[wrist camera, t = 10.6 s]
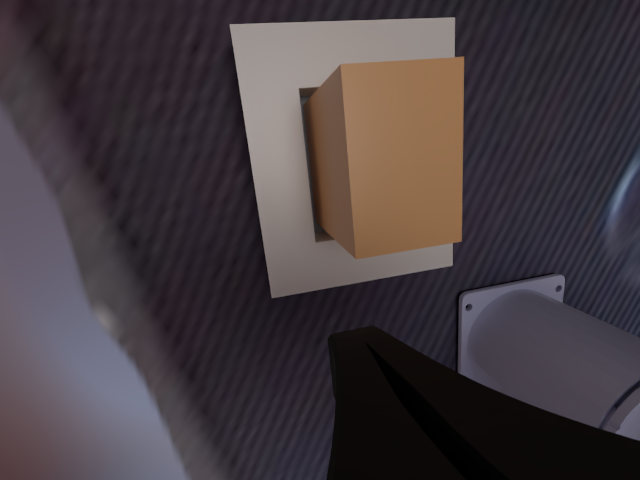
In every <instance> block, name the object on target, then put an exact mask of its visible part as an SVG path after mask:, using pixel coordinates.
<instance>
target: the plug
mask: <svg viewBox="0 0 640 480" xmlns="http://www.w3.org/2000/svg"><path fill="white" fill-rule="evenodd" d="M463 101H464V57H452V58H435V59H418V60H401V61H385V62H368V63H351V64H340V65H339V66H338V67H337V68H336V70H335V71H334V72H333V73H332V74H331V75H330V76H329V77H328V78H327V79H326V80H325V82H324V83H323V84H322V85H321V86H320V87H319V88H318V89H317V90H316V91H315V92H314V94H313V95H312V96H311V97H310V98H309V99H308V100H307V101H306V102H305V103H304V104H303V108H304V117H305V127H306V136H307V145H308V154H309V163H310V172H311V181H312V190H313V199H314V208H315V217H316V222H317V223H318V224H319V225H320V226H321V227H322V228H323V229H324V230H325V231H326V232H327V233H328V234H329V235H330V236H331V237H333V238H334V239H335V240H336V241H337V242H338V243H339V244H340V245H341V246H342V247H343V248H344V249H345V250H346V251H347V252H348V253H350V254H351V255H352V256H353V257H354V258H355V259H362V258H368V257H374V256H380V255H386V254H391V253H397V252H403V251H409V250H415V249H421V248H426V247H432V246H438V245H444V244H450V243H456V242H461V241H462V176H463Z"/></svg>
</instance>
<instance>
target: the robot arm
mask: <svg viewBox="0 0 640 480" xmlns="http://www.w3.org/2000/svg"><path fill="white" fill-rule="evenodd" d="M564 285H565V278H564V276H562V275H560V274H551V275H546V276H541V277H536V278H531V279H526V280H521V281H516V282H511V283H506V284H501V285H496V286H491V287H486V288H481V289H476V290H471V291H466V292H463V293H462V294H461V295H460V297H459V325H458V372H456V371H454V370H452V369H450V368H448V367H446V366H444V365H442V364H440V363H438V362H436V361H434V360H433V359H431V358H429V357H427V356H425V355H424V354H422V353H420V352H418V351H416V350H415V349H413V348H411V347H410V346H408V345H406V344H404V343H403V342H401V341H399V340H398V339H396V338H394V337H393V336H391V335H389V334H388V333H386V332H384V331H382V330H381V329H379V328H377V327H375V326H369V327H364V328H359V329H354V330H349V331H344V332H340V333H335V334H331V335H330V337H329V338H328V345H329V355H330V364H331V374H332V383H333V392H334V397H335V401H336V407H335V422H334V432H333V440H332V448H331V456H330V462H329V468H328V474H327V480H640V338H639V337H637V336H634V335H632V334H630V333H628V332H626V331H623V330H621V329H619V328H617V327H615V326H612V325H610V324H608V323H606V322H604V321H601V320H599V319H597V318H595V317H593V316H590V315H588V314H586V313H584V312H582V311H579V310H577V309H575V308H573V307H571V306H568V305H566V304H564V303H563V294H564ZM468 304H469V305H468ZM466 305H468V307H467V308H465V307H466Z"/></svg>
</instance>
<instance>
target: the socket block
mask: <svg viewBox="0 0 640 480" xmlns="http://www.w3.org/2000/svg"><path fill="white" fill-rule="evenodd" d="M230 30H231V36H232V43H233V49H234V56H235V62H236V69H237V75H238V82H239V88H240V95H241V101H242V108H243V114H244V121H245V127H246V134H247V140H248V147H249V153H250V160H251V166H252V173H253V179H254V186H255V192H256V199H257V205H258V212H259V218H260V225H261V231H262V238H263V244H264V251H265V257H266V264H267V270H268V277H269V283H270V290H271V296H272V298H277V297H282V296H288V295H293V294H299V293H304V292H310V291H315V290H321V289H326V288H332V287H337V286H343V285H348V284H354V283H359V282H365V281H370V280H376V279H381V278H387V277H393V276H398V275H404V274H409V273H415V272H420V271H426V270H431V269H437V268H442V267H448V266H453V243H450V244H444V245H438V246H432V247H426V248H421V249H415V250H409V251H403V252H397V253H391V254H386V255H380V256H374V257H368V258H362V259H355V258H354V257H353V256H352V255H351V254H350V253H348V252H347V251H346V250H345V249H344V248H343V247H342V246H341V245H340V244H339V243H338V242H337V241H336V240H335V239H334V238H333V237H331V236H330V235H329V234H328V233H327V232H326V231H325V230H324V229H323V228H322V227H321V226H320V225H319V224H318V223H317V222H316V217H315V208H314V199H313V190H312V181H311V172H310V163H309V154H308V145H307V136H306V127H305V117H304V108H303V104H304V103H305V102H306V101H307V100H308V99H309V98H310V97H311V96H312V95H313V94H314V92H315V91H316V90H317V89H318V88H319V87H320V86H321V85H322V84H323V83H324V82H325V80H326V79H327V78H328V77H329V76H330V75H331V74H332V73H333V72H334V71H335V70H336V68H337V67H338V66H339V65H340V64H351V63H368V62H385V61H401V60H418V59H435V58H452V57H455V18H424V19H391V20H358V21H325V22H293V23H260V24H230Z"/></svg>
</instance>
